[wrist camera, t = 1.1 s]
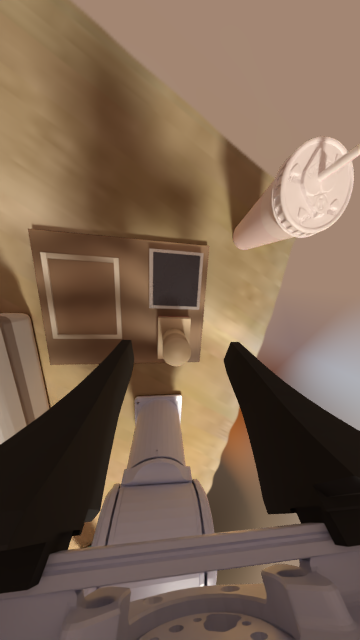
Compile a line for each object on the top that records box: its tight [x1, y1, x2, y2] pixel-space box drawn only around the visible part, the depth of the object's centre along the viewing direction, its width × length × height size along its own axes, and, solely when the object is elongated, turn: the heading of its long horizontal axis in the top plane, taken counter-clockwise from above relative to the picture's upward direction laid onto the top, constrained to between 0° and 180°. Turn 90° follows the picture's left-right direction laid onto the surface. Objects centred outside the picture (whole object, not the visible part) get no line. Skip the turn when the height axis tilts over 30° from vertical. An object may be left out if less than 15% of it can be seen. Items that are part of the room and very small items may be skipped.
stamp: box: [158, 316, 191, 366], centre depth 18 cm, size 6×4×6 cm
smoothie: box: [233, 136, 360, 250], centre depth 13 cm, size 6×6×14 cm
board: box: [28, 229, 209, 365], centre depth 19 cm, size 18×22×1 cm
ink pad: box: [149, 248, 204, 310], centre depth 18 cm, size 8×7×1 cm
